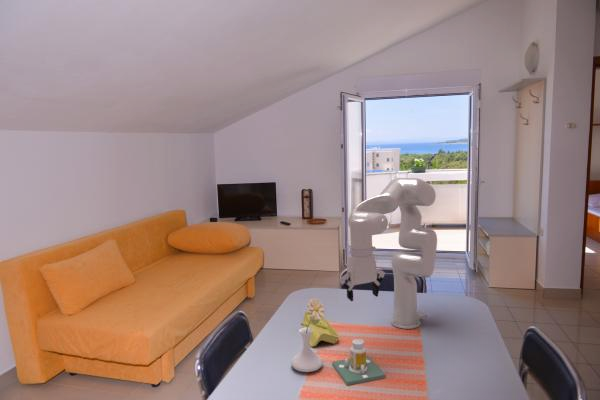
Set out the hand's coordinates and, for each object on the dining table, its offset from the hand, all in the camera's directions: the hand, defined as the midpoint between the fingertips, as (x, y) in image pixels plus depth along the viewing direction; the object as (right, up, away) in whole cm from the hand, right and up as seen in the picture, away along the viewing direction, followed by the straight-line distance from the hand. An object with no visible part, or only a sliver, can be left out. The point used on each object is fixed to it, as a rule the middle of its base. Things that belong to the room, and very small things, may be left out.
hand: (363, 297), depth 157 cm
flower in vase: (-19, -25, 0) cm, 31 cm away
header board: (-2, -25, -4) cm, 25 cm away
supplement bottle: (-2, -24, -4) cm, 24 cm away
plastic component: (-14, -22, +24) cm, 35 cm away
